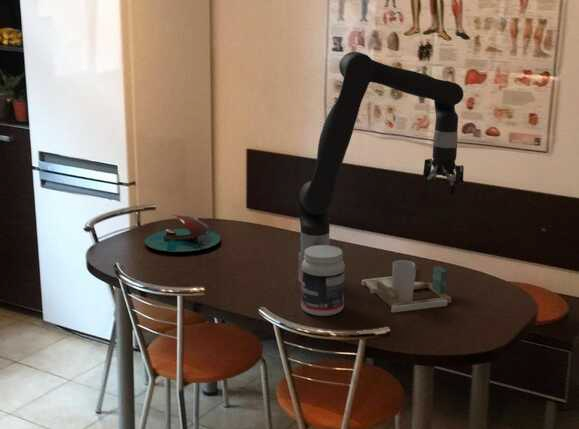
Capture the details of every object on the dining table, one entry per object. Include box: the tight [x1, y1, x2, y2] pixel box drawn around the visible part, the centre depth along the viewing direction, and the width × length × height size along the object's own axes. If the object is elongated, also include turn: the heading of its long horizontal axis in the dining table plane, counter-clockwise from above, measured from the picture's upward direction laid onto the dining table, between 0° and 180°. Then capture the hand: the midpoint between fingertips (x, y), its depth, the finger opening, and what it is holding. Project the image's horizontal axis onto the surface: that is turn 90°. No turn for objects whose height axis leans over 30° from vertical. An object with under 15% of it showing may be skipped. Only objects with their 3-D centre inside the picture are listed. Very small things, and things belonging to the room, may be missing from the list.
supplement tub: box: [300, 245, 346, 317], centre depth 238 cm, size 13×13×18 cm
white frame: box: [374, 265, 452, 307], centre depth 248 cm, size 19×14×8 cm
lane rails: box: [361, 276, 448, 313], centre depth 252 cm, size 18×24×2 cm
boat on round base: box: [144, 214, 221, 253], centre depth 299 cm, size 28×28×11 cm
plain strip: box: [364, 265, 421, 291], centre depth 259 cm, size 17×5×5 cm, turn 107°
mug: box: [391, 259, 416, 303], centre depth 247 cm, size 10×7×12 cm, turn 139°
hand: (441, 193), depth 262 cm, fingers open, 8 cm apart
